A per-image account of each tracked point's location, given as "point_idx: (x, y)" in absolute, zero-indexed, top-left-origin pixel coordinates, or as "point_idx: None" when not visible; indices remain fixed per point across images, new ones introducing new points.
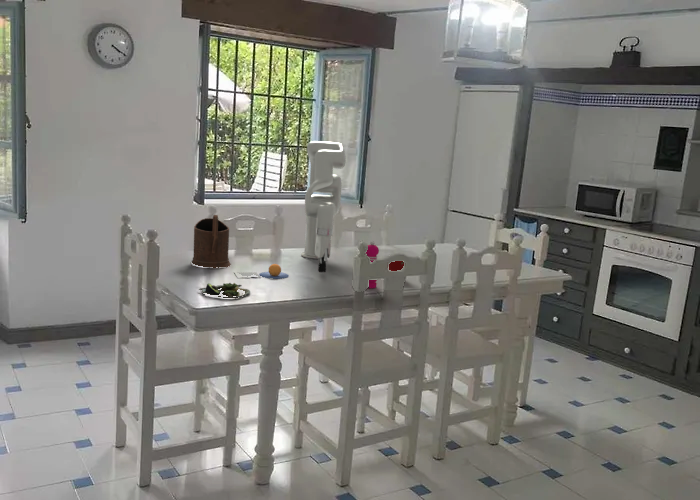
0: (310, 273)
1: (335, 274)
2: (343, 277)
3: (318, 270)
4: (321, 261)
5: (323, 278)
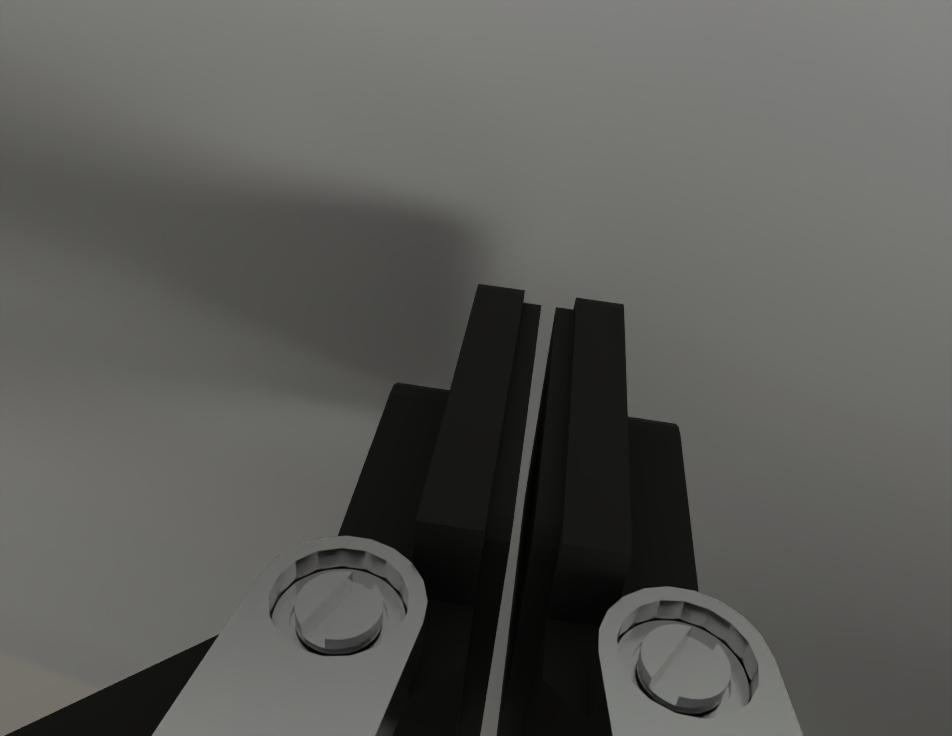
0: (897, 15)
1: None
2: None
3: (577, 311)
4: (215, 685)
5: (62, 197)
